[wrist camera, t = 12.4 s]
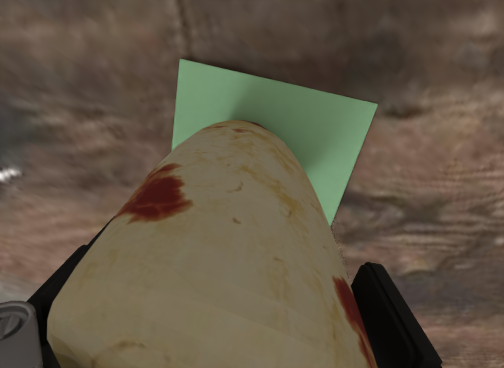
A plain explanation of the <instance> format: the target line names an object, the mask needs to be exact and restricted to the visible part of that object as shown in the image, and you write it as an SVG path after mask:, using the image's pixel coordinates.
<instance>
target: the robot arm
mask: <svg viewBox="0 0 504 368" xmlns="http://www.w3.org/2000/svg"><path fill="white" fill-rule="evenodd" d="M114 217H115V216H114ZM114 217H113V218H114ZM113 218H112V219H111V220H110V221H109V222H108V223H107V225H106V226H105V227H104V228H103V229H102V230H101V231H100V232H99V233H98V234H97V235H96V236H95V237H94V238H93V239H92V240H91V242H90V243H89V244H88V245H82V246H81V247H79V248H78V249H77V250H76V251H75V252H74V253H73V254H72V255H71V256H70V257H69V258H68V259H67V260H66V261H65V262H64V264H63V265H62V266H61V267H60V268H59V269H58V270H57V271H56V272H55V273H54V274H53V275H52V276H51V277H50V278H49V279H48V280H47V281H46V282H45V283H44V284H43V285H42V286H41V287H40V288H39V289H38V290H37V291H36V292H35V293H34V294H33V295H32V296H31V297H30V298H29V299H28V300H27V301H26V302H24V301H9V302H4V303H0V368H61V366H60V364H59V362H58V360H57V358H56V356H55V354H54V352H53V350H52V348H51V346H50V344H49V342H48V340H47V319H48V315H49V312H50V309H51V306H52V303H53V301H54V300H55V298H56V297H57V295H58V294H59V292H60V290H61V289H62V287H63V286H64V284H65V283H66V281H67V280H68V278H69V277H70V275H71V274H72V272H73V271H74V269H75V268H76V266H77V265H78V264H79V262H80V261H81V260H82V258H83V257H84V256H85V254H86V253H87V252H88V250H89V249H90V248H91V247H92V245H93V244H94V243H95V241H96V240H97V239H98V238H99V236H100V235H101V234H102V232H103V231H104V230H105V229H106V227H107V226H108V225H109V223H110V222H111V221H112V220H113ZM351 289H352V292H353V295H354V298H355V301H356V304H357V307H358V310H359V312H360V315H361V318H362V321H363V324H364V327H365V330H366V333H367V336H368V339H369V342H370V346H371V349H372V352H373V355H374V358H375V361H376V364H377V367H378V368H442V367H441V363H442V360H441V359H440V357H439V355H438V354H437V352H436V351H435V349H434V347H433V346H432V344H431V342H430V341H429V339H428V338H427V336H426V334H425V333H424V331H423V330H422V328H421V326H420V325H419V323H418V321H417V320H416V318H415V317H414V315H413V313H412V312H411V310H410V309H409V307H408V305H407V304H406V302H405V300H404V299H403V297H402V296H401V294H400V292H399V291H398V289H397V288H396V286H395V284H394V283H393V281H392V280H391V278H390V276H389V275H388V273H387V271H386V270H385V268H384V267H383V266H382V265H381V264H376V263H371V262H366V263H365V264H364V265H361V266H360V268H359V270H358V272H357V274H356V276H355V278H354V280H353V283H352V285H351Z"/></svg>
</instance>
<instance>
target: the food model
mask: <svg viewBox="0 0 504 368" xmlns="http://www.w3.org/2000/svg"><path fill="white" fill-rule="evenodd" d="M47 340H48V342H49V344H50V346H51V348H52V350H53V352H54V354H55V356H56V358H57V360H58V362H59V364H60V366H61V368H378V367H377V364H376V361H375V358H374V355H373V352H372V349H371V346H370V342H369V339H368V336H367V333H366V330H365V327H364V324H363V321H362V318H361V315H360V312H359V310H358V307H357V304H356V301H355V298H354V295H353V292H352V289H351V286H350V283H349V280H348V277H347V274H346V271H345V268H344V265H343V262H342V259H341V256H340V253H339V250H338V247H337V245H336V242H335V239H334V237H333V234H332V232H331V229H330V226H329V224H328V221H327V219H326V216H325V214H324V211H323V209H322V206H321V204H320V201H319V199H318V197H317V194H316V192H315V190H314V188H313V186H312V183H311V181H310V180H309V178H308V176H307V174H306V173H305V171H304V169H303V168H302V166H301V164H300V162H299V161H298V160H297V159H296V157H295V156H294V154H293V153H292V151H291V150H290V149H289V148H288V147H287V146H286V144H285V143H284V142H283V141H282V140H281V139H279V138H278V137H277V136H276V135H274V134H273V133H272V132H270V131H269V130H267V129H266V128H264V127H263V126H261V125H260V124H258V123H254V122H250V121H246V120H227V121H223V122H218V123H215V124H212V125H210V126H207V127H205V128H203V129H201V130H199V131H198V132H196V133H195V134H193V135H192V136H190V137H189V138H188V139H186V140H185V141H183V142H182V143H180V144H179V145H177V146H176V147H175V148H174V149H173V151H172V152H171V153H170V154H169V155H167V156H166V157H165V158H164V159H163V160H162V161H161V162H160V163H159V164H158V165H157V166H156V167H155V168H154V169H153V171H152V172H151V173H150V174H149V175H148V176H147V177H146V178H145V180H144V181H143V182H142V184H141V185H140V186H139V187H138V189H137V190H136V191H135V192H134V194H133V195H132V196H131V197H130V199H129V200H128V201H127V202H126V204H125V205H124V206H123V207H122V209H121V210H120V211H119V212H118V213H117V215H116V216H115V217H114V218H113V220H112V221H111V222H110V223H109V225H108V226H107V227H106V229H105V230H104V231H103V232H102V234H101V235H100V236H99V238H98V239H97V240H96V241H95V243H94V244H93V245H92V247H91V248H90V249H89V250H88V252H87V253H86V254H85V256H84V257H83V258H82V260H81V261H80V262H79V264H78V265H77V266H76V268H75V269H74V271H73V272H72V274H71V275H70V277H69V278H68V280H67V281H66V283H65V284H64V286H63V287H62V289H61V290H60V292H59V294H58V295H57V297H56V298H55V300H54V301H53V303H52V306H51V309H50V312H49V315H48V319H47Z"/></svg>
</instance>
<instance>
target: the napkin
mask: <svg viewBox="0 0 504 368" xmlns="http://www.w3.org/2000/svg"><path fill="white" fill-rule="evenodd" d="M377 106H378V104H376V103H371V102H367V101H363V100H358V99H354V98H350V97H345V96H341V95H336V94H332V93H328V92H323V91H319V90H315V89H310V88H306V87H302V86H297V85H293V84H288V83H284V82H280V81H275V80H271V79H267V78H262V77H258V76H254V75H249V74H245V73H240V72H236V71H232V70H227V69H223V68H219V67H214V66H210V65H205V64H201V63H197V62H192V61H188V60H184V59H180V63H179V74H178V85H177V96H176V107H175V118H174V129H173V140H172V151H173V149H174V148H175V147H176V146H177V145H179V144H180V143H182V142H183V141H185V140H186V139H188V138H189V137H190V136H192V135H193V134H195V133H196V132H198V131H199V130H201V129H203V128H205V127H207V126H210V125H212V124H215V123H218V122H223V121H227V120H246V121H250V122H254V123H258V124H260V125H261V126H263V127H264V128H266V129H267V130H269V131H270V132H272V133H273V134H274V135H276V136H277V137H278V138H279V139H281V140H282V141H283V142H284V143H285V144H286V146H287V147H288V148H289V149H290V150H291V151H292V153H293V154H294V156H295V157H296V159H297V160H298V161H299V162H300V164H301V166H302V168H303V169H304V171H305V173H306V174H307V176H308V178H309V180H310V181H311V183H312V186H313V188H314V190H315V192H316V194H317V197H318V199H319V201H320V204H321V206H322V209H323V211H324V214H325V216H326V219H327V221H328V224H329V226H331V224H332V221H333V219H334V216H335V214H336V211H337V208H338V206H339V203H340V201H341V198H342V196H343V193H344V190H345V188H346V185H347V183H348V180H349V178H350V175H351V172H352V170H353V167H354V165H355V162H356V160H357V157H358V154H359V152H360V149H361V147H362V144H363V142H364V139H365V136H366V134H367V131H368V129H369V126H370V124H371V121H372V118H373V116H374V113H375V111H376V108H377ZM172 151H171V152H172Z"/></svg>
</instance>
